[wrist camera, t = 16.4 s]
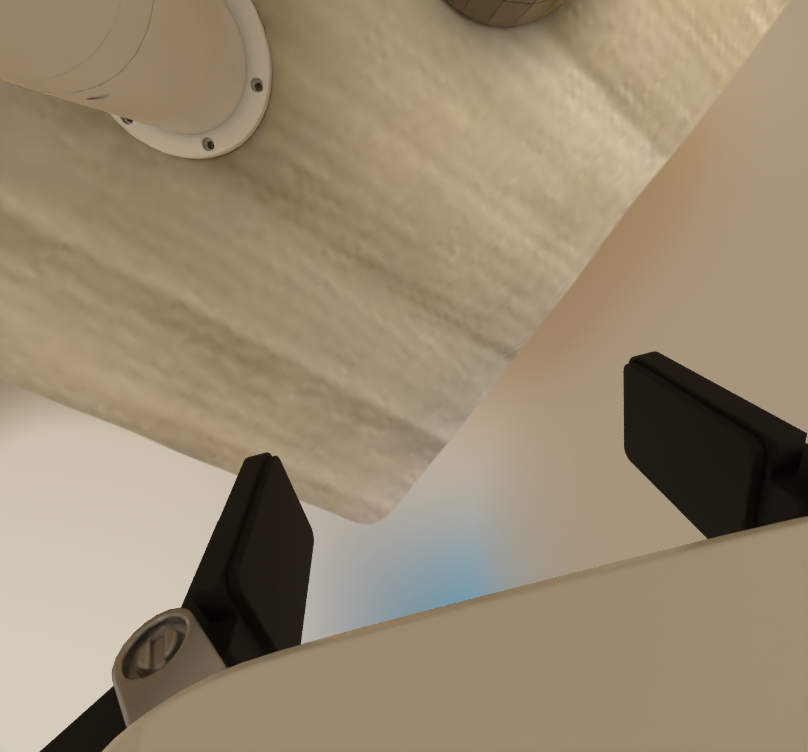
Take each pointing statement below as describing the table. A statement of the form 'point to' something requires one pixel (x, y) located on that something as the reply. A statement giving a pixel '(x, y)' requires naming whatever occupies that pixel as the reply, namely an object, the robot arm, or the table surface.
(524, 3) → the bucket
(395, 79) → the table surface
